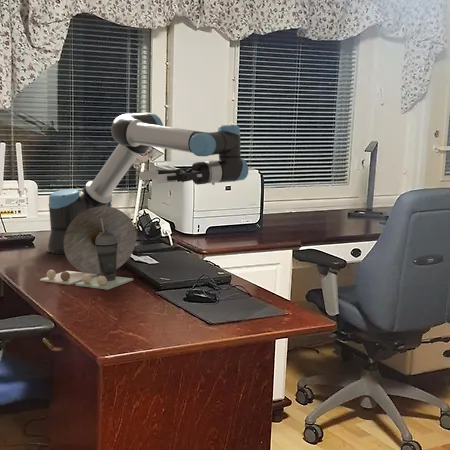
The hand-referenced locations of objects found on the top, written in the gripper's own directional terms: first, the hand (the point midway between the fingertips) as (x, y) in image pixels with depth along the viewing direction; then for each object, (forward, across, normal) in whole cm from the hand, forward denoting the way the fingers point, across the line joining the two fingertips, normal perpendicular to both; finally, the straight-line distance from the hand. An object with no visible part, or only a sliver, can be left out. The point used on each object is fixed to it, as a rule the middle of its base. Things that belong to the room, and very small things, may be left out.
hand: (148, 177), depth 241 cm
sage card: (+18, -3, -32) cm, 37 cm away
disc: (+10, +18, -32) cm, 38 cm away
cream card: (+26, +10, -32) cm, 42 cm away
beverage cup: (+16, -2, -32) cm, 36 cm away
